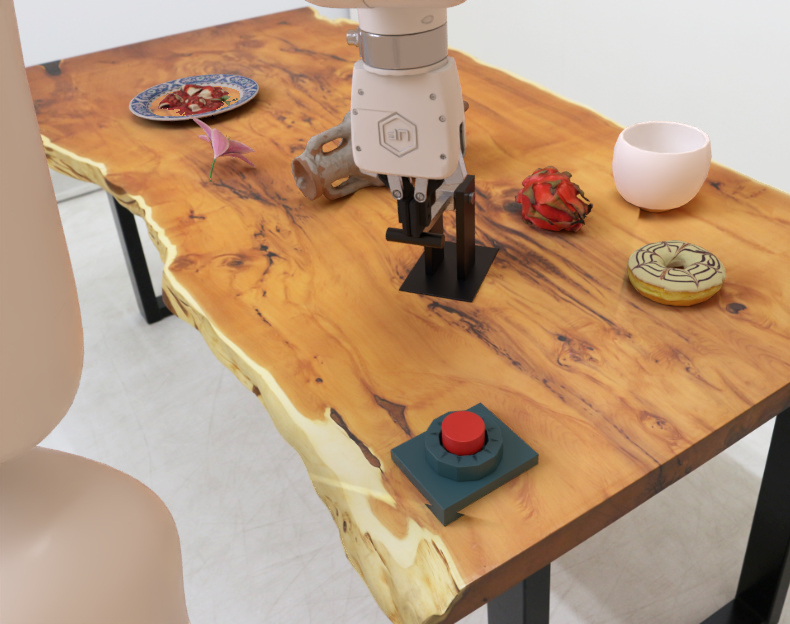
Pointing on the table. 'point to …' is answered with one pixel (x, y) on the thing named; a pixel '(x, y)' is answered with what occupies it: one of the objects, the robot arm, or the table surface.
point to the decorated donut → (675, 273)
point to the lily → (223, 144)
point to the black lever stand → (453, 255)
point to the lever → (443, 202)
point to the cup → (660, 164)
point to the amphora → (332, 165)
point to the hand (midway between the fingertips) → (415, 229)
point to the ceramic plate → (194, 96)
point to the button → (463, 433)
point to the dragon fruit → (552, 200)
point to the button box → (462, 465)
